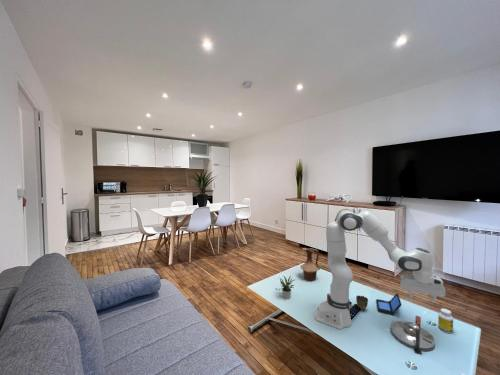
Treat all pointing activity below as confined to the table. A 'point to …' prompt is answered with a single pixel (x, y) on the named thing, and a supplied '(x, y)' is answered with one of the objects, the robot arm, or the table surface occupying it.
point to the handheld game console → (389, 305)
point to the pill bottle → (445, 321)
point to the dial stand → (417, 339)
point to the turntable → (425, 336)
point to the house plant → (286, 287)
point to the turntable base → (411, 346)
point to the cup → (362, 302)
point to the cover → (409, 329)
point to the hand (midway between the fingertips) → (421, 299)
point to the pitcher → (310, 265)
